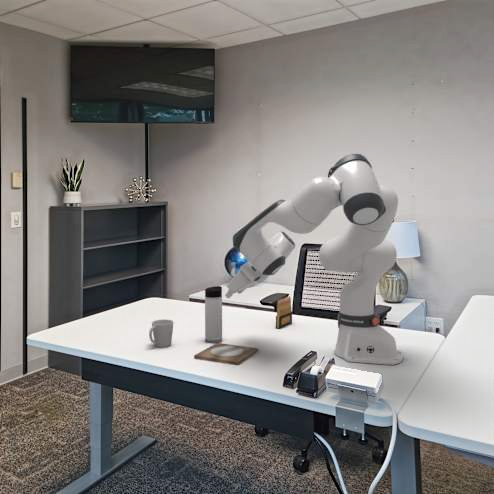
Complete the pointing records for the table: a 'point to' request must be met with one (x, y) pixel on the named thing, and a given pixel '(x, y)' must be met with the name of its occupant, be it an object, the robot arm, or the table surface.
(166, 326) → the cup
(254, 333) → the table surface
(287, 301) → the ammunition clip
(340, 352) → the robot arm
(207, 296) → the travel mug
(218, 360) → the board
